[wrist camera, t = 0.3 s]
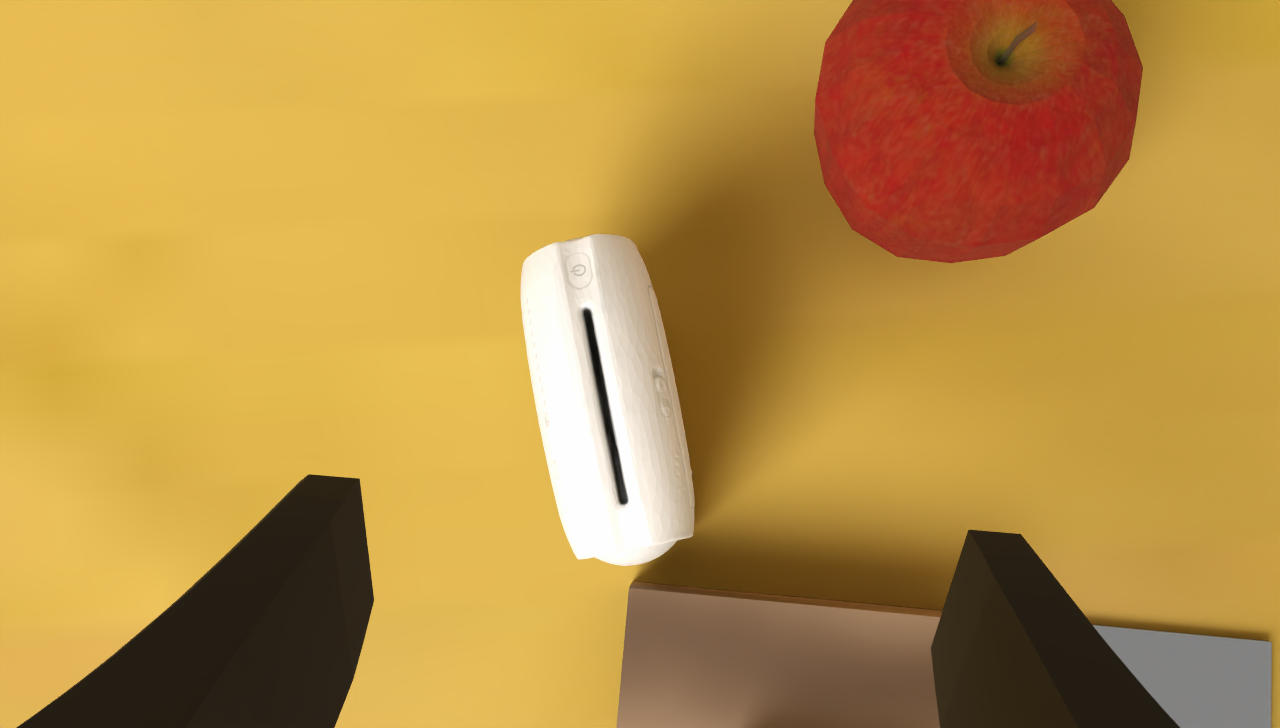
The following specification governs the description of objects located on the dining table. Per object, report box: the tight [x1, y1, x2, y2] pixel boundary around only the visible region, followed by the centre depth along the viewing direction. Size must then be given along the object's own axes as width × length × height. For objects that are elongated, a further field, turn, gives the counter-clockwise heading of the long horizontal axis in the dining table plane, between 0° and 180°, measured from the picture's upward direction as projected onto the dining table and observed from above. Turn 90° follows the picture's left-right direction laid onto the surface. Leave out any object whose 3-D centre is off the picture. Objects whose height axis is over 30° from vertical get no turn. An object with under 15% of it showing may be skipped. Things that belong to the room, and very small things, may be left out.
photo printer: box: [521, 234, 695, 566], centre depth 35 cm, size 10×4×12 cm, turn 11°
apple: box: [814, 0, 1143, 263], centre depth 35 cm, size 10×10×14 cm
